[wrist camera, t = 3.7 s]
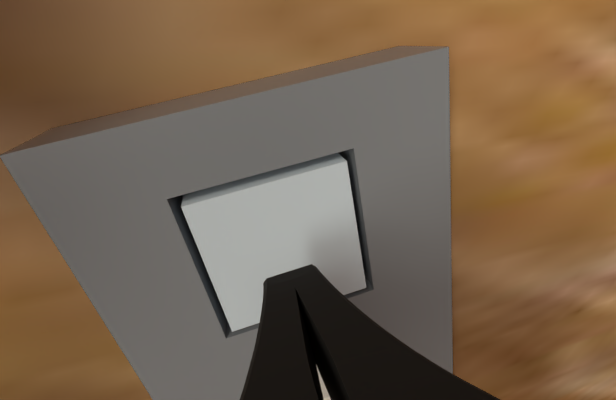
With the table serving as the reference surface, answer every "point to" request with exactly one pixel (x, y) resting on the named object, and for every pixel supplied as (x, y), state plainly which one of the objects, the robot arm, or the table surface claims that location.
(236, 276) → the pale blue key
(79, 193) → the key console
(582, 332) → the table surface
